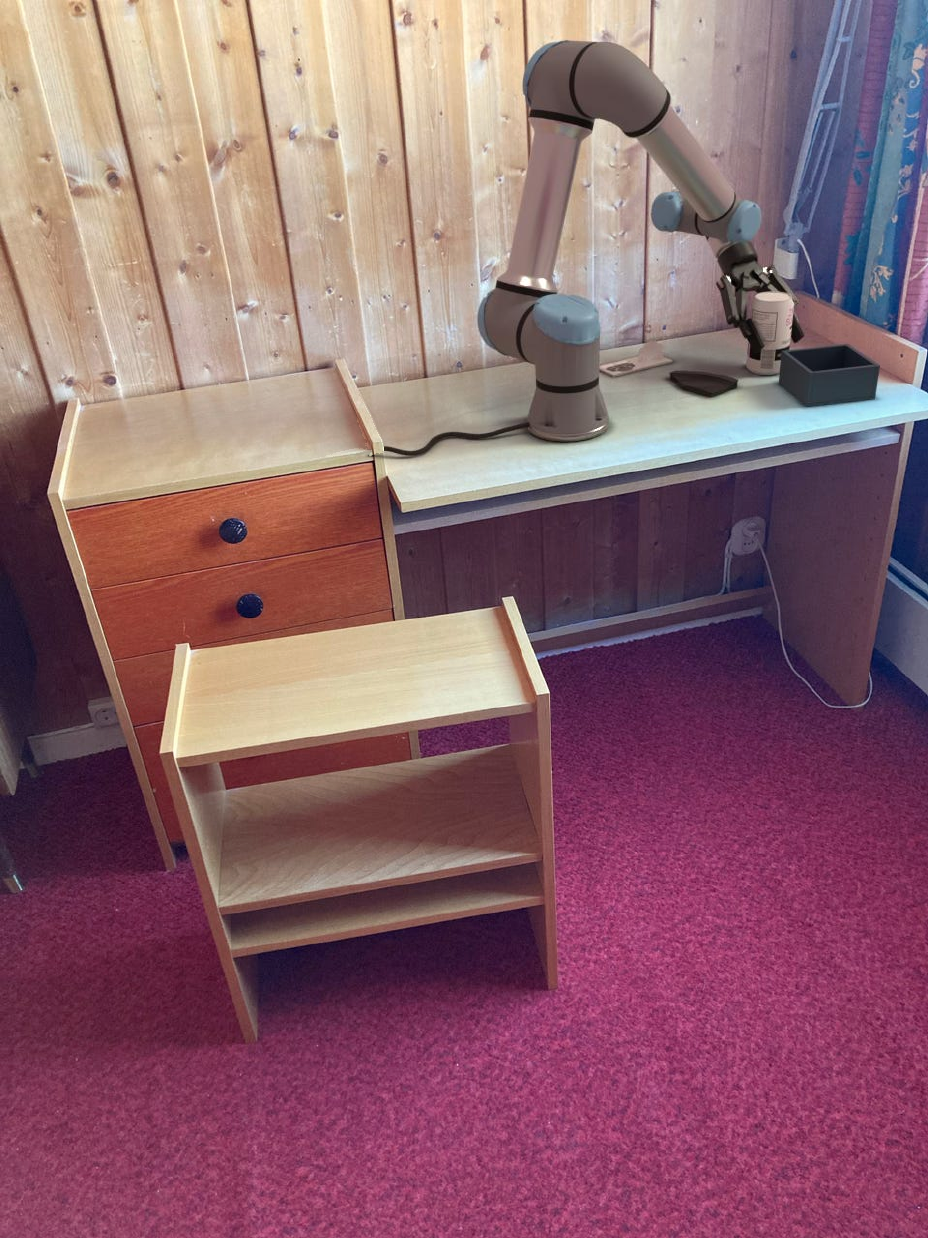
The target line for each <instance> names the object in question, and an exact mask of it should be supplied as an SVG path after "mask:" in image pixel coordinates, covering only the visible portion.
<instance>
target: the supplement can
mask: <svg viewBox="0 0 928 1238" xmlns="http://www.w3.org/2000/svg"><path fill="white" fill-rule="evenodd" d="M791 297H792V296H791V295H790V294H788V293H784V292H763V293H759V294H758V293H757V294H756V295H755V296H754V299H753V300H752V302H751V303H750V315H749V318H751V319H752V321H753V323H754V325H755V327H756V330H757V332H758V334H759V336H760V338H761V340H762V342H763V344H764V346H765V347H764V348H762V349H761V350H760V351H759V352H758V353H757V354H754V352H753V350H752V348H751V346H750V344H749V342H748V341H747V352H746V353H747V354H746V363H745V366H746V368H747V369H748V370H749V372H751V373H753V374H755V375H760V376H761V375H762V376H773V375H779V373H780V363H781V353H782V351H786V350H791V349H790V347H791V340H792V338H791V329H792V320H793V310H794V311H795V309H794V308H795V307H794V303H793V300H792V298H791Z"/></svg>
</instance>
